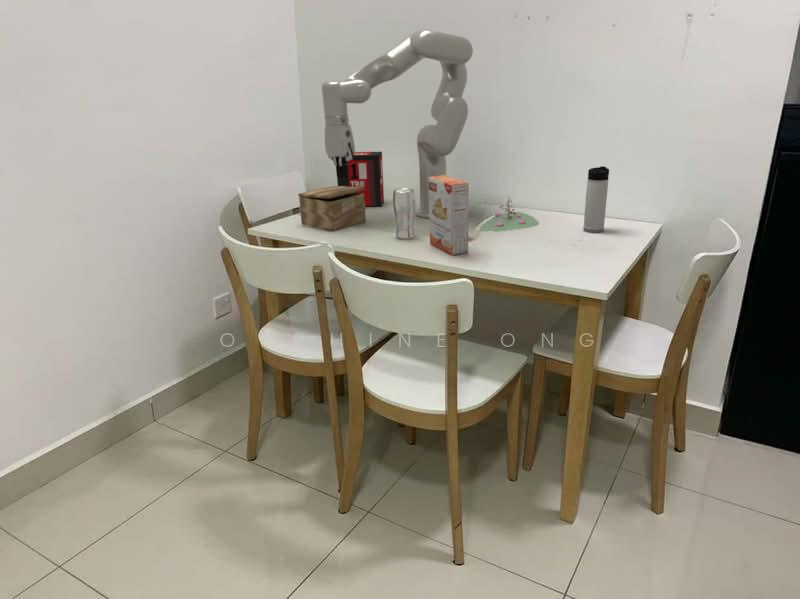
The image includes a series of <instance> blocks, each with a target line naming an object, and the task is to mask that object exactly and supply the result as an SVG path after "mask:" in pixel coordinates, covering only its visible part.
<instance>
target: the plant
mask: <svg viewBox="0 0 800 599" xmlns="http://www.w3.org/2000/svg"><path fill="white" fill-rule="evenodd" d="M507 197H508V199H507V201H506V202H505V203H506V207H505V206H504V205H501V206H499V209H502V210H503V209H505V210H504V212H505V213H504V212H503V213H500V212H495V214H494V215H495V217H493V218H492V219H490V220H489V221H487V222H486V223H485V224H483V225H482V226H481V227H480V228H479V229H480V230H481V231H480V232H488V231H494V233H496V232H497V233H498V232H499V231H500V232H501V231H503V232H508V231H507V230H510V231H515V230H514V229H516V230H521V229H520V228H523V229H529V228H532V227H534V226H535V227H536V226H537V225H538V224H539V221H538V220H537V219H536V218H535V217H533V216H531V215H529V214H527V213H524V212H521V211H515V209H514V208H512V209H511V207H514V205H510V204H509V203H512V202H513V201H512V199H510V196H509V195H508V196H507ZM500 232H499V233H500ZM501 233H502V232H501Z"/></svg>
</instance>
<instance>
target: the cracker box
mask: <svg viewBox="0 0 800 599" xmlns="http://www.w3.org/2000/svg"><path fill="white" fill-rule="evenodd" d="M428 219H429V220H428V221H429V243H430V244H431V245H433V246H434V247H436V248H437V249H440V250H442V251H444V252H445V253H447V254H449V255H451V256H457V255H461V254H467V253H468V252H469V182H467V181H464V180H460V179H457V178H453V177H452V176H448V175H447V174H446V175H441V176H433V177H429V218H428ZM456 254H457V255H456Z"/></svg>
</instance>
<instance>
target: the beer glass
mask: <svg viewBox="0 0 800 599" xmlns="http://www.w3.org/2000/svg"><path fill="white" fill-rule="evenodd" d="M392 192H393V194H392V196H393V198H392V200H393V201H392V206H393V214H394V218H395V222H396V232H395V238H396V239H399V240H410V239H413V238H415V237H416V236H415V231H414V230H415V229H414V220H415V214H416V198H415V196H416V195H415V189H412V188H397V189H394V190H393V191H392Z"/></svg>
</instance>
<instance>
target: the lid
mask: <svg viewBox="0 0 800 599" xmlns="http://www.w3.org/2000/svg"><path fill="white" fill-rule="evenodd" d="M362 190H365V187H347V186H338V185H332V186H331V185H330V186H327V187H323V188H318V189H314V190H310V191H309V190H308V191H306V192H300V193H298V194H297V196H298V197H300V196H303V197H317V198H334V197H338V196H342V195H346V194H350V193H354V192H358V191H362Z"/></svg>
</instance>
